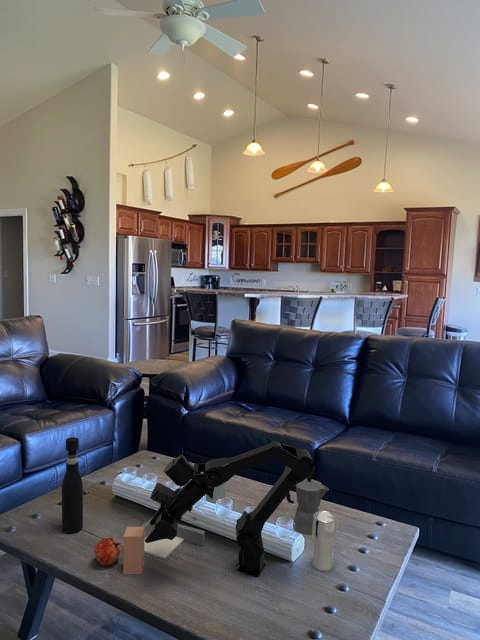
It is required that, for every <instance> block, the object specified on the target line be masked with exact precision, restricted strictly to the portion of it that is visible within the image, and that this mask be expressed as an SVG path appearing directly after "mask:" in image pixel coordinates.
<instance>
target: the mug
mask: <svg viewBox="0 0 480 640" xmlns="http://www.w3.org/2000/svg"><path fill="white" fill-rule="evenodd" d="M222 498H225V499H226V482H225V483H223V484H222V485H220V486H218V487H215V488H214V492H213V499H211V498H210V497H209V496H208V495H207V494H206V500H207V501H208V502H211V503H216V501H217V500H218V499H222Z"/></svg>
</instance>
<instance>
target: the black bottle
mask: <svg viewBox="0 0 480 640" xmlns="http://www.w3.org/2000/svg"><path fill="white" fill-rule="evenodd" d="M79 440H80V439H79V438H78V437H73V436H72V437H67V438H66V439H65V451H66V452H67V457H66V463H65V474H64V477H63V479H62V484H61V532H63V533H64V534H67V535H73V534H76V533H79V532H80V531H82V530H83V529H84V486H83V480H82V475H81V473H80V471H79V459H78V455H77V451H78V450H79V447H80V445H79V444H80V443H79Z"/></svg>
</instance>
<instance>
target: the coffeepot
mask: <svg viewBox="0 0 480 640" xmlns="http://www.w3.org/2000/svg"><path fill="white" fill-rule="evenodd" d="M294 487H295V492H296V502H297V507H296V510H295V511H296V512H295V516H294V519H293V523H295V528H294V530H295V531H296V532H298V531H299V532H298V533H300V534H304V535H312V526H313V518H314V514H315V513H316V512H318V511H319V506H321V500H322V499H323V497H324V495H325V494H326V493H327V492H330V491H329V490H330V489H329V487H327V486H325V485H324V484H323V483H322V482H320V481H318V480H315V479H313V477H312V475H310V476H308V477H307V478H306V479H305V480H304V481H302V482H300V483H298V484H296V485H295V486H294ZM294 487H293V488H294ZM290 493H291V492H289V493H288V495H287V496H286V497H285V499H286V501H287V503H289V504H292V505H293V504H294V503H295V501H294V500H292V499H291V494H290Z"/></svg>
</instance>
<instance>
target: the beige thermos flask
mask: <svg viewBox="0 0 480 640" xmlns="http://www.w3.org/2000/svg"><path fill="white" fill-rule="evenodd" d="M337 523H338V522H337V516H336V514H334V513H333V512H330V511H327V510H320V511H319V510H318V512H316V513H315V514H314V518H313V526H312V534H311V536H312V545H313V557H312V560H311V565H312V567H313V568H314V569H316V570H317V571H320V572H328V571H331V570H332V569H333V567H334V564H333V563H334V562H333V551H334V548H335V547H334V546H335V543H336V538H337Z"/></svg>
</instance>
